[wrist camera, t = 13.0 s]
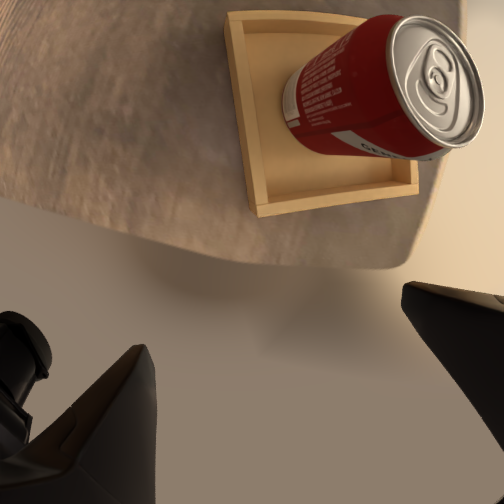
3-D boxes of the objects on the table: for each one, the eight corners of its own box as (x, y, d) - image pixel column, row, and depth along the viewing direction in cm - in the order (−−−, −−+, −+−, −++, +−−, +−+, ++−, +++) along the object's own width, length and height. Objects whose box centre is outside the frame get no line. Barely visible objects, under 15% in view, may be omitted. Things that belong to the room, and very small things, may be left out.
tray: (397, 188, 22) (419, 194, 19) (249, 209, 21) (257, 218, 18) (376, 35, 18) (395, 25, 15) (223, 28, 16) (227, 11, 13)
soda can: (262, 129, 19) (348, 97, 7) (299, 51, 17) (396, -28, 6) (344, 170, 20) (472, 195, 9) (374, 96, 19) (498, 74, 8)
